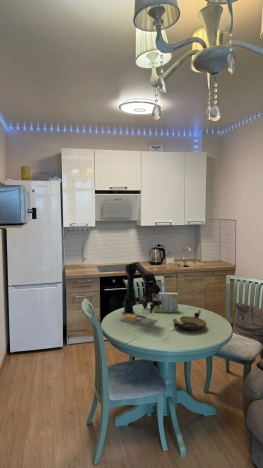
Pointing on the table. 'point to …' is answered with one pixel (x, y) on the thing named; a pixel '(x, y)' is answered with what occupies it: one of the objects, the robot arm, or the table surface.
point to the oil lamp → (191, 321)
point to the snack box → (166, 302)
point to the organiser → (141, 321)
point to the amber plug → (130, 317)
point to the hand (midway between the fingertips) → (148, 312)
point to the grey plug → (147, 311)
